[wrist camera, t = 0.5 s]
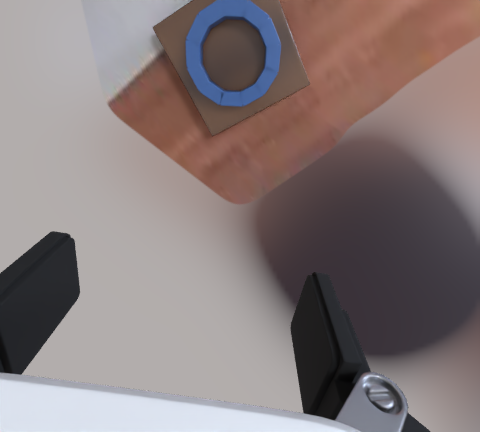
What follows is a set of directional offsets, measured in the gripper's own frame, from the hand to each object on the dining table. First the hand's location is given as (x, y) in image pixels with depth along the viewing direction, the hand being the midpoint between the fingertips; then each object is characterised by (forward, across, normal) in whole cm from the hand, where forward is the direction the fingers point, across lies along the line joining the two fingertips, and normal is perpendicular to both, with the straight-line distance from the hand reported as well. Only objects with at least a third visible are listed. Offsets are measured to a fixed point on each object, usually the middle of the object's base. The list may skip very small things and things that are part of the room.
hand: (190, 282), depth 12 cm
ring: (+31, +1, -9) cm, 32 cm away
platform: (+34, +1, -9) cm, 35 cm away
